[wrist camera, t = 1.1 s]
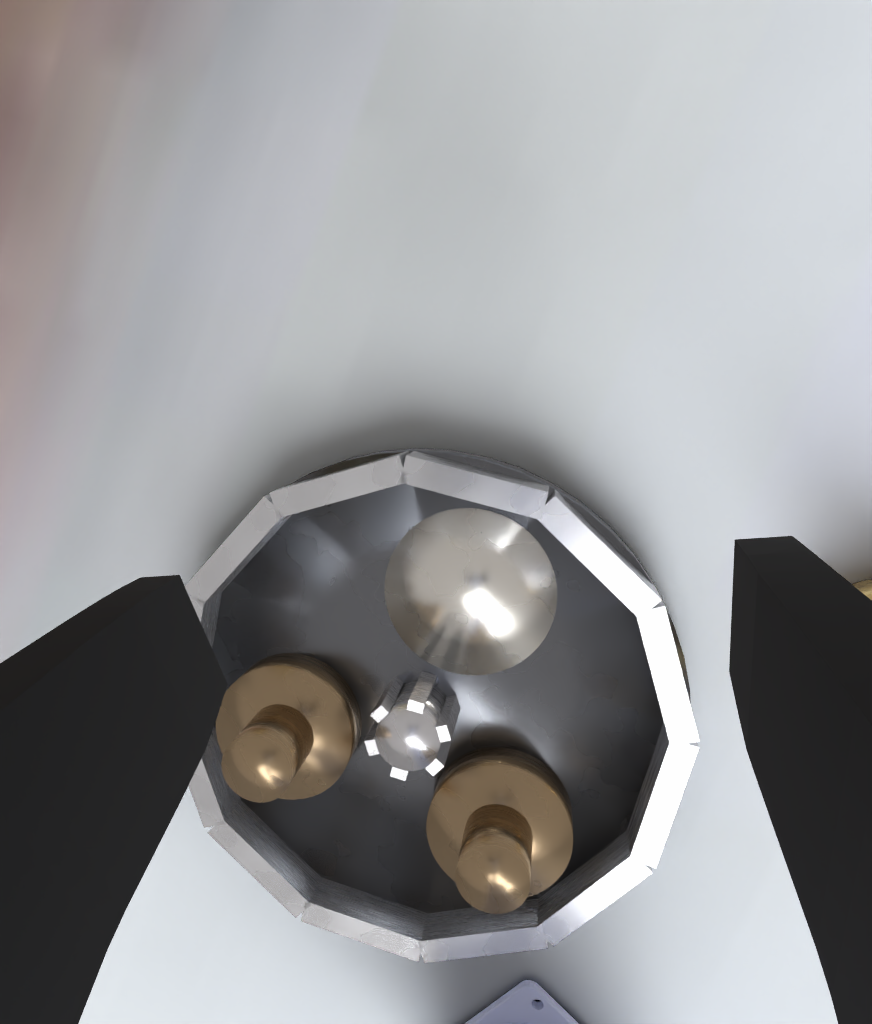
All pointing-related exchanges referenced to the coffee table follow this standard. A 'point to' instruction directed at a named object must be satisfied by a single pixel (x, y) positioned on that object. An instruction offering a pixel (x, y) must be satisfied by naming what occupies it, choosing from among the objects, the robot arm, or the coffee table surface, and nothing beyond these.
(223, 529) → the coffee table surface
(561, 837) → the carrier
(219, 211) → the coffee table surface
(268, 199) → the coffee table surface
